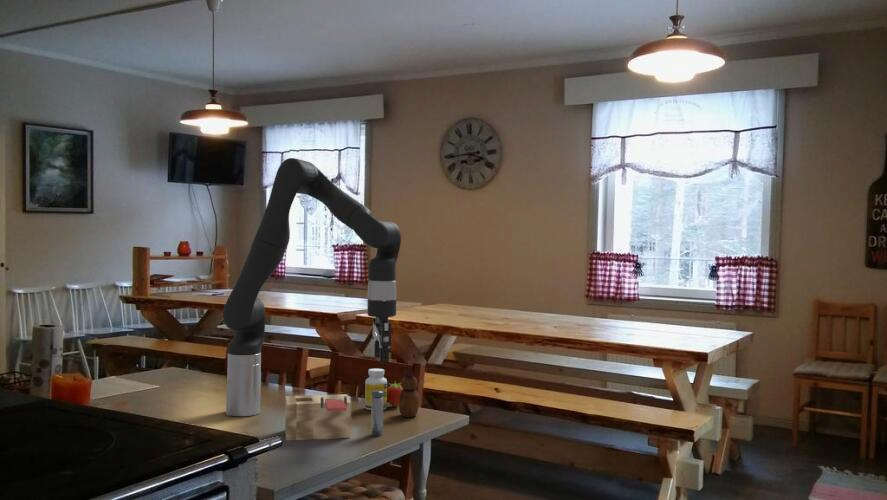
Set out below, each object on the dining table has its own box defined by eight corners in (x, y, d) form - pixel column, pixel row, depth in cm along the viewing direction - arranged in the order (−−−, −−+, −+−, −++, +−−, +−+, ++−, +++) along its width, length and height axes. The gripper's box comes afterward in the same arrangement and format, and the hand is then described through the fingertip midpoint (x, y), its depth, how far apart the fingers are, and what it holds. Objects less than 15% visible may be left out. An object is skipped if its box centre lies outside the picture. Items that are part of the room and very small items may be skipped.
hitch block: (286, 442, 188) (287, 399, 188) (285, 430, 199) (285, 389, 199) (351, 439, 192) (352, 397, 192) (346, 427, 203) (347, 388, 203)
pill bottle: (383, 412, 222) (384, 372, 222) (362, 410, 223) (362, 371, 223) (389, 407, 229) (390, 368, 228) (368, 405, 230) (369, 367, 230)
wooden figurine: (398, 413, 221) (399, 361, 221) (418, 413, 222) (419, 361, 221) (398, 418, 215) (399, 365, 214) (419, 418, 215) (420, 365, 215)
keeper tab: (328, 411, 182) (328, 407, 182) (324, 402, 191) (324, 398, 191) (346, 411, 183) (346, 407, 183) (342, 402, 192) (342, 398, 192)
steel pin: (371, 436, 195) (372, 392, 195) (370, 433, 198) (370, 390, 198) (383, 436, 196) (384, 392, 196) (381, 432, 199) (382, 390, 199)
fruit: (396, 409, 226) (396, 382, 226) (382, 407, 228) (382, 380, 228) (406, 406, 230) (407, 379, 230) (392, 403, 233) (393, 377, 233)
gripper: (363, 295, 204) (362, 356, 205) (372, 300, 191) (371, 364, 191) (391, 295, 206) (390, 355, 206) (401, 300, 192) (400, 364, 193)
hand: (381, 359), depth 199 cm, fingers open, 8 cm apart
